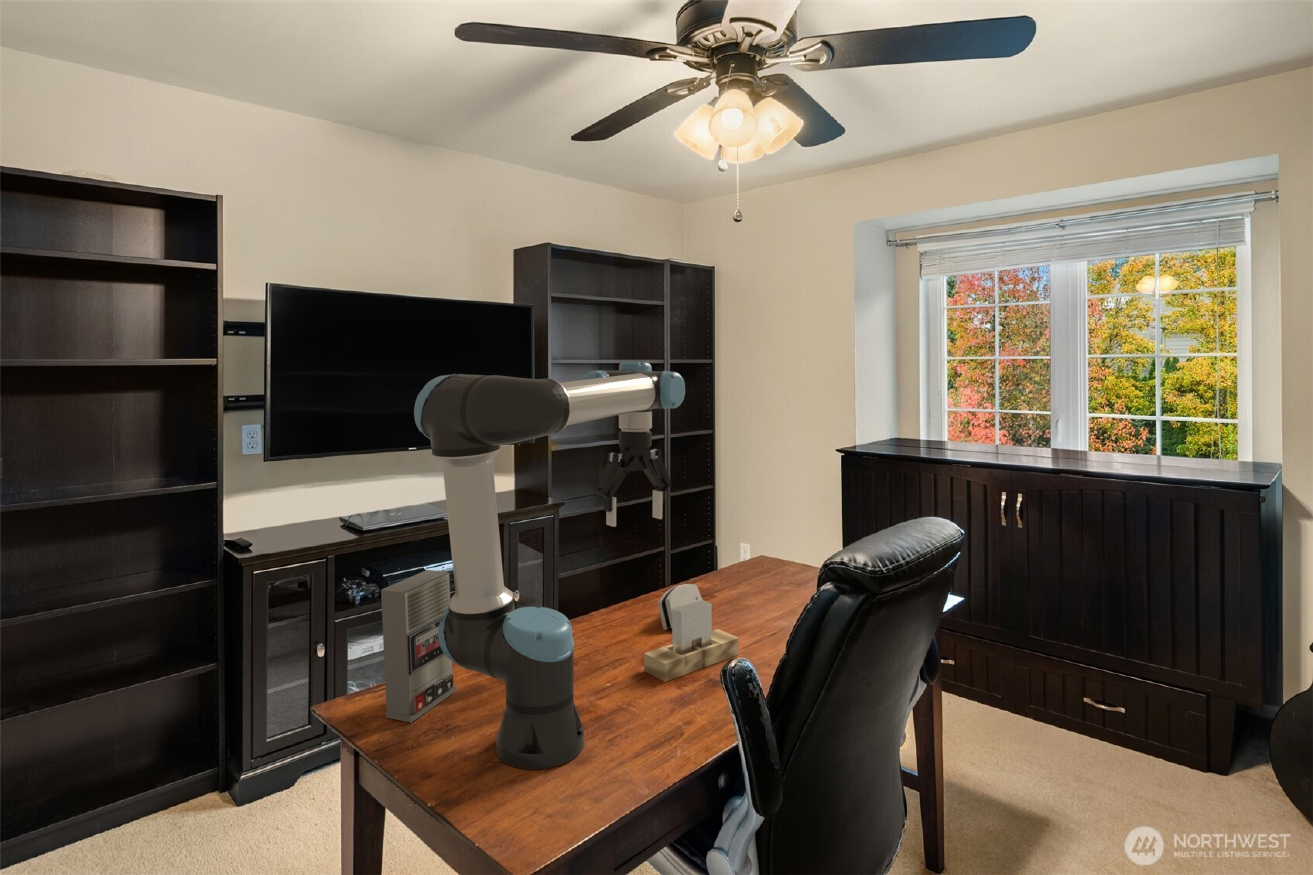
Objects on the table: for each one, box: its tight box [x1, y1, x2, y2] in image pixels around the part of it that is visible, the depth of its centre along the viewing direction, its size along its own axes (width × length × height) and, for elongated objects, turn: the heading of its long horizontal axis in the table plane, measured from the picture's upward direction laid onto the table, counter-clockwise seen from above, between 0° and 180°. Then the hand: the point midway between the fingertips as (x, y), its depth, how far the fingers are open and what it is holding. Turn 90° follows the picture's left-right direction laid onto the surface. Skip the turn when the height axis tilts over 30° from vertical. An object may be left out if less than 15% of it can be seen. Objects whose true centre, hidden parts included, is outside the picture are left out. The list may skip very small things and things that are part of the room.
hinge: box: [657, 583, 703, 631], centre depth 188 cm, size 17×5×10 cm, turn 149°
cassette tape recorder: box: [380, 569, 457, 724], centre depth 141 cm, size 14×6×25 cm, turn 160°
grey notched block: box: [671, 599, 713, 655], centre depth 161 cm, size 9×3×13 cm, turn 129°
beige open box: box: [643, 628, 740, 683], centre depth 162 cm, size 22×7×4 cm, turn 129°
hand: (634, 521), depth 168 cm, fingers open, 13 cm apart
